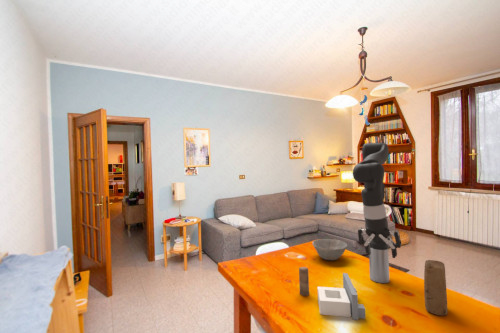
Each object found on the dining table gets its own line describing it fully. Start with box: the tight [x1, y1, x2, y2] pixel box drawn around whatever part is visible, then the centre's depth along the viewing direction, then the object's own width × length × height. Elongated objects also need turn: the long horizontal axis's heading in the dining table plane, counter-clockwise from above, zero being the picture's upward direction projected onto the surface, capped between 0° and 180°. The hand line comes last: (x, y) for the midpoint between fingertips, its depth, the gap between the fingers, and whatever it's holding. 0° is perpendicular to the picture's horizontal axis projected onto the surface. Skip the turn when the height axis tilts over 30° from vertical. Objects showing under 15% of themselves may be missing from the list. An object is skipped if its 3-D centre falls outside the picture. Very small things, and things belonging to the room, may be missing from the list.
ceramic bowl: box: [311, 238, 348, 261], centre depth 162 cm, size 22×23×10 cm
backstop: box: [342, 272, 366, 321], centre depth 106 cm, size 20×5×10 cm, turn 169°
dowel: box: [298, 266, 310, 297], centre depth 118 cm, size 4×4×12 cm
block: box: [423, 259, 448, 317], centre depth 102 cm, size 11×8×20 cm
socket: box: [317, 286, 352, 318], centre depth 106 cm, size 12×12×6 cm
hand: (381, 255), depth 93 cm, fingers open, 8 cm apart
